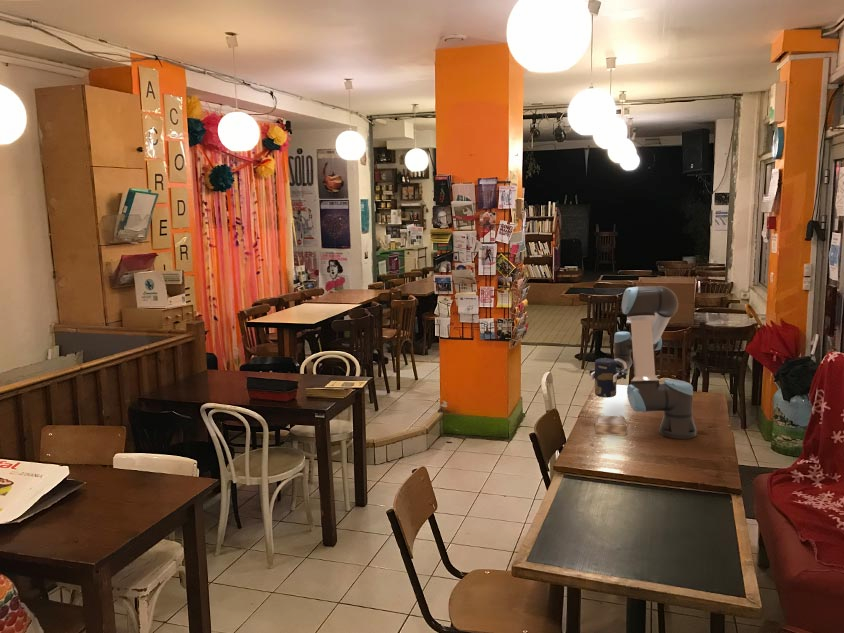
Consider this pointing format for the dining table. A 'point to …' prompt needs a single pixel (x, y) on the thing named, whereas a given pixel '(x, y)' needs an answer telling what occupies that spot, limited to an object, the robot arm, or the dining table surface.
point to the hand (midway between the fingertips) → (602, 378)
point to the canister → (605, 377)
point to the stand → (610, 425)
